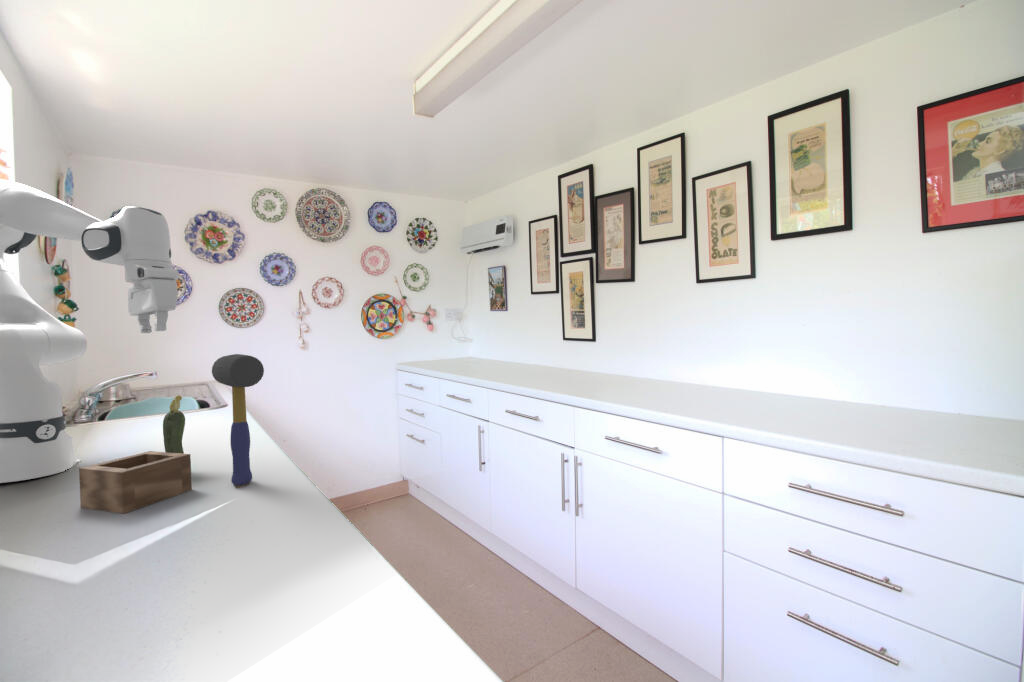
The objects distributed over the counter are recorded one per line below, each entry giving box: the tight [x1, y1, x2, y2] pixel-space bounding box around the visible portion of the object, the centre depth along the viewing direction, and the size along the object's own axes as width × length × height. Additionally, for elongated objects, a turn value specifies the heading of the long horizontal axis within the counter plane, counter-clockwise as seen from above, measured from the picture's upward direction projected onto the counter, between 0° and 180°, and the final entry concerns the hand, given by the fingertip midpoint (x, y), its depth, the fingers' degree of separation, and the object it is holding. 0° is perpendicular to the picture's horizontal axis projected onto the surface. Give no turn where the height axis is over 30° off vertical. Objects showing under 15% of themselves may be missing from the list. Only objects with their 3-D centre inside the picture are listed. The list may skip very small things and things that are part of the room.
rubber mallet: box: [211, 353, 265, 488], centre depth 97 cm, size 12×8×30 cm, turn 51°
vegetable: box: [162, 394, 186, 454], centre depth 106 cm, size 4×4×20 cm
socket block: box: [78, 450, 193, 514], centre depth 91 cm, size 13×13×8 cm
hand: (153, 332), depth 104 cm, fingers open, 8 cm apart
